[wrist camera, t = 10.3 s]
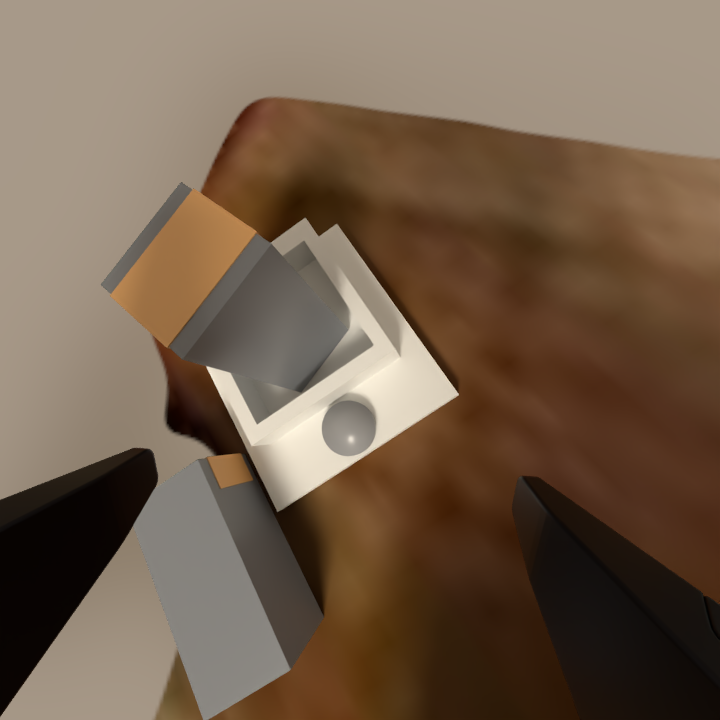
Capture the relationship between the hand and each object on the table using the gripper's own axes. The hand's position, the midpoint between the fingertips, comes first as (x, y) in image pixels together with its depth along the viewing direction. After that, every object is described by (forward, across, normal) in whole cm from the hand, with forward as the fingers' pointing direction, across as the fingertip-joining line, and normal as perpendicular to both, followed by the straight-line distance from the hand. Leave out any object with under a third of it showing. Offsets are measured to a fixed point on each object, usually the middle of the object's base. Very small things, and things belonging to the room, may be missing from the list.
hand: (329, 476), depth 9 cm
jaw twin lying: (+8, +6, +12) cm, 16 cm away
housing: (+13, +3, +2) cm, 14 cm away
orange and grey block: (+13, +4, 0) cm, 14 cm away
